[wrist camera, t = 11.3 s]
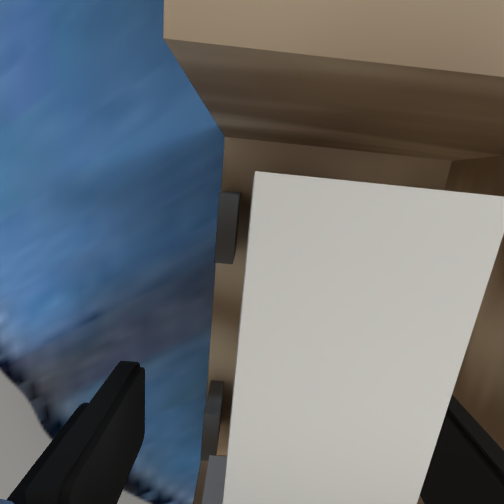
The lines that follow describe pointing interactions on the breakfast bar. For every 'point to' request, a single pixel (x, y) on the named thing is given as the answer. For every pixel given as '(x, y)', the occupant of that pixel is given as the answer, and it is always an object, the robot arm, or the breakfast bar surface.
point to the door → (350, 337)
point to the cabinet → (347, 137)
